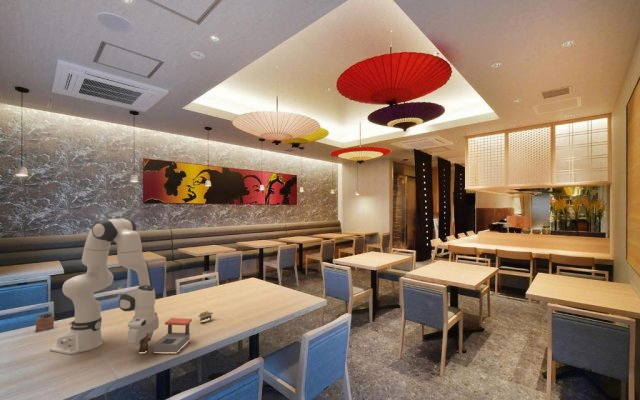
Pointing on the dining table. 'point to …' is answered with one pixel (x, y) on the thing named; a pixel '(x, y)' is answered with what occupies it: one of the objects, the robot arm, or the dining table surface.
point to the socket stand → (173, 336)
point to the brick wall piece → (44, 322)
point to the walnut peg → (144, 344)
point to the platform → (204, 316)
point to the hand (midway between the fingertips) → (143, 344)
